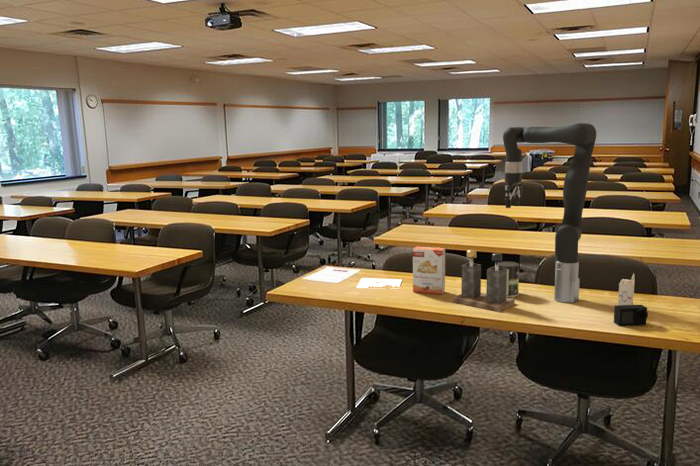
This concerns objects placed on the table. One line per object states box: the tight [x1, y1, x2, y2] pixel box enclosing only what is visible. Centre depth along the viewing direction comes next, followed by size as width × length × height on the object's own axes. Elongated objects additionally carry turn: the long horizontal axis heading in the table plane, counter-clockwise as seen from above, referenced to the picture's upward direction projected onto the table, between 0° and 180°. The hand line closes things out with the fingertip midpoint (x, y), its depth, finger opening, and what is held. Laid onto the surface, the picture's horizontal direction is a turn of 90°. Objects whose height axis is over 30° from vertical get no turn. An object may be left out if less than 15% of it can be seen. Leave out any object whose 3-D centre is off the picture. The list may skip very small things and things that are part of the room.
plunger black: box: [491, 252, 503, 271], centre depth 238 cm, size 4×4×18 cm
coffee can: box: [499, 260, 520, 298], centre depth 254 cm, size 10×10×14 cm
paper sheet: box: [355, 277, 403, 289], centre depth 273 cm, size 24×29×1 cm
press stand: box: [452, 262, 515, 313], centre depth 242 cm, size 22×14×16 cm, turn 49°
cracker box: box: [412, 245, 446, 295], centre depth 260 cm, size 14×6×21 cm, turn 68°
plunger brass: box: [466, 249, 477, 267], centre depth 245 cm, size 4×4×18 cm
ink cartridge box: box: [617, 273, 636, 305], centre depth 229 cm, size 9×5×15 cm, turn 148°
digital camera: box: [613, 304, 649, 327], centre depth 213 cm, size 10×5×7 cm, turn 92°
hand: (512, 206), depth 260 cm, fingers open, 8 cm apart
